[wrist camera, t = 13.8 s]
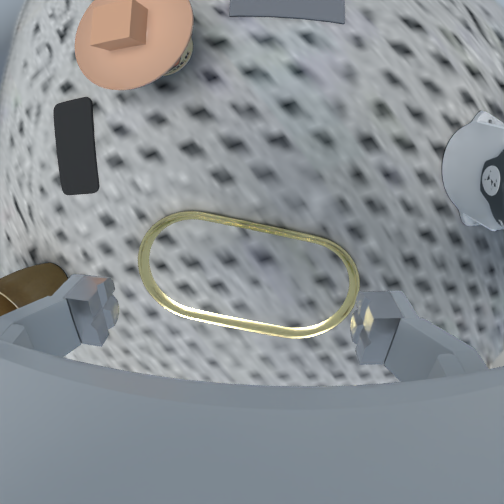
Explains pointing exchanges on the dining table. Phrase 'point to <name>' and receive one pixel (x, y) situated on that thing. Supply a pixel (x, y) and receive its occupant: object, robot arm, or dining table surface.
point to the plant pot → (29, 286)
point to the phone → (76, 146)
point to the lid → (132, 40)
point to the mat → (291, 9)
